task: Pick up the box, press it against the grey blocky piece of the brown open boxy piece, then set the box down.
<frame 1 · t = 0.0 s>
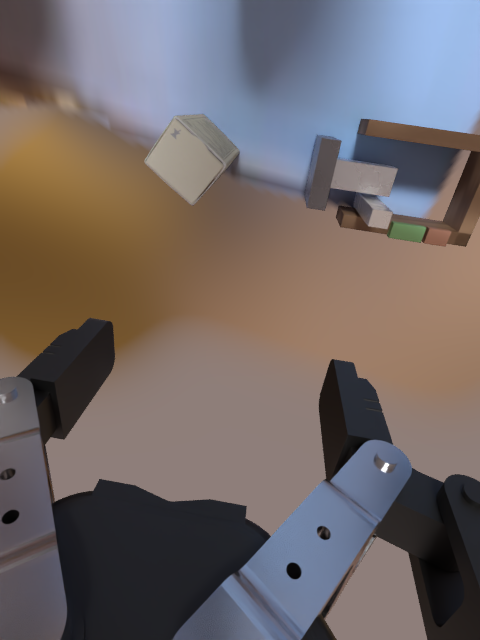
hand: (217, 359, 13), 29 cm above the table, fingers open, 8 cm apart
brown open boxy piece: (407, 180, 36), on the table
grey blocky piece: (353, 179, 32), point 5 cm above the table, slide at 0.0 cm
box: (210, 150, 37), on the table
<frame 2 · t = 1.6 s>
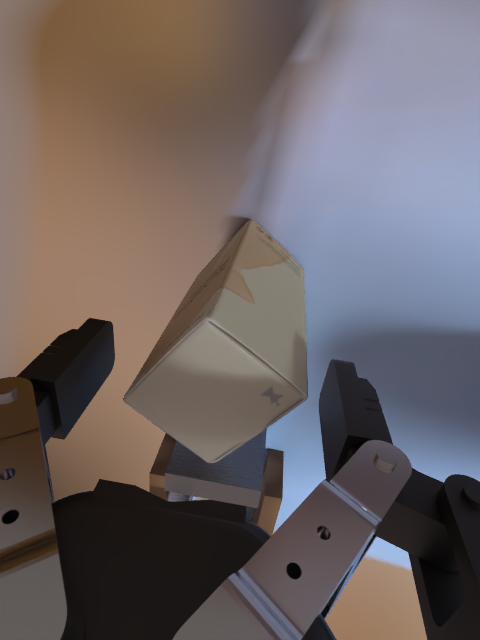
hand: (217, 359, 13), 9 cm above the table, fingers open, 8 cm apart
brown open boxy piece: (217, 489, 31), on the table
grey blocky piece: (211, 494, 24), point 5 cm above the table, slide at 0.0 cm
box: (248, 273, 22), on the table
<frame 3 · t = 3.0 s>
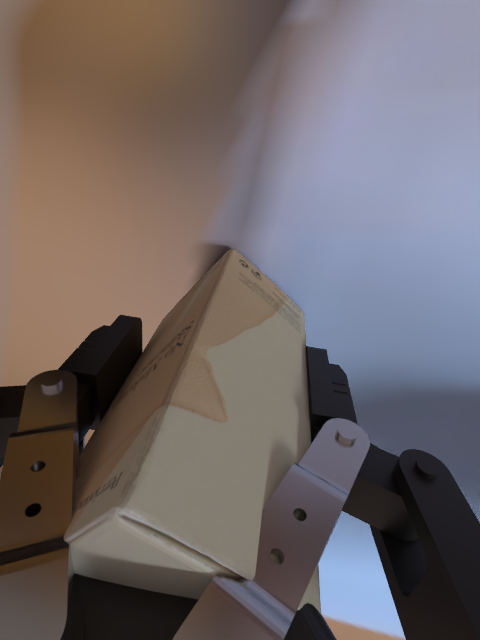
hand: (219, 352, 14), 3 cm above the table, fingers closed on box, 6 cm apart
box: (230, 316, 16), on the table, touching gripper
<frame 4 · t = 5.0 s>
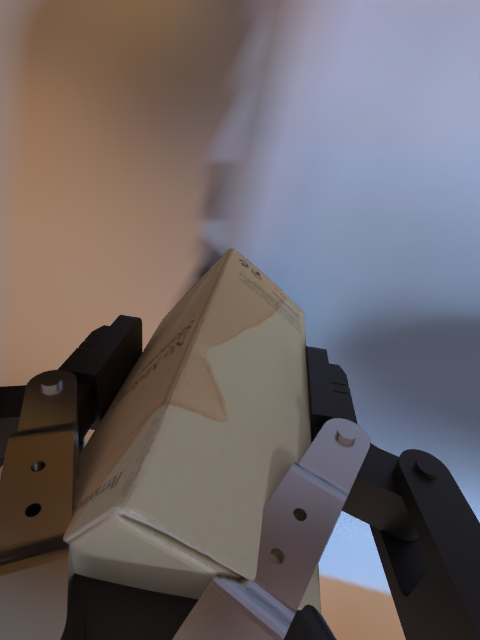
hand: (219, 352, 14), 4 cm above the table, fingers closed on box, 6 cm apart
box: (230, 316, 16), point 1 cm above the table, touching gripper
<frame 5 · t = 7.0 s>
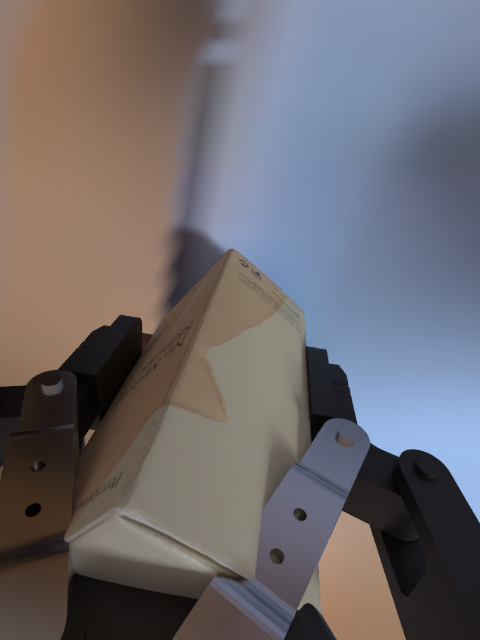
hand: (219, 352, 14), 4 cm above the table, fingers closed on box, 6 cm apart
box: (230, 316, 16), point 1 cm above the table, touching gripper, grey blocky piece
when the fingers open (3 cm above the table, at t = 9.3 s): box stays where it is, on the table.
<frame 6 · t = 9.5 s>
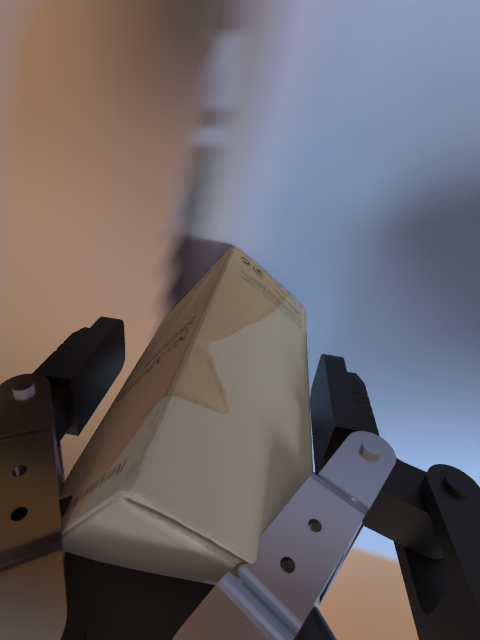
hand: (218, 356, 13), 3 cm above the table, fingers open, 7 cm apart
box: (232, 313, 16), on the table
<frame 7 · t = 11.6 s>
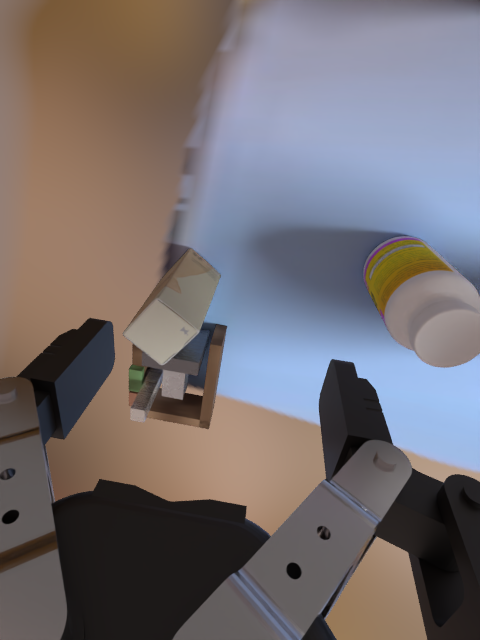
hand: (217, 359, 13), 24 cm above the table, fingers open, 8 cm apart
brown open boxy piece: (182, 361, 43), on the table
supplement bottle: (396, 267, 35), on the table
grey blocky piece: (171, 375, 38), point 5 cm above the table, slide at 4.5 cm
box: (191, 276, 38), on the table
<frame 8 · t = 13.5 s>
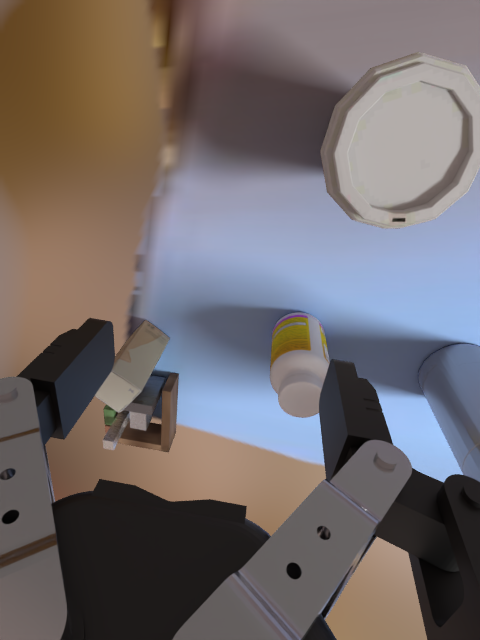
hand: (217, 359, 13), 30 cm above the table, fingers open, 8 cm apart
brown open boxy piece: (147, 399, 56), on the table
disposable coffee cup: (365, 138, 36), on the table
supplement bottle: (298, 332, 47), on the table
grey blocky piece: (135, 413, 51), point 5 cm above the table, slide at 4.5 cm
box: (148, 339, 51), on the table
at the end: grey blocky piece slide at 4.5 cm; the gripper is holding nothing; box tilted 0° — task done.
